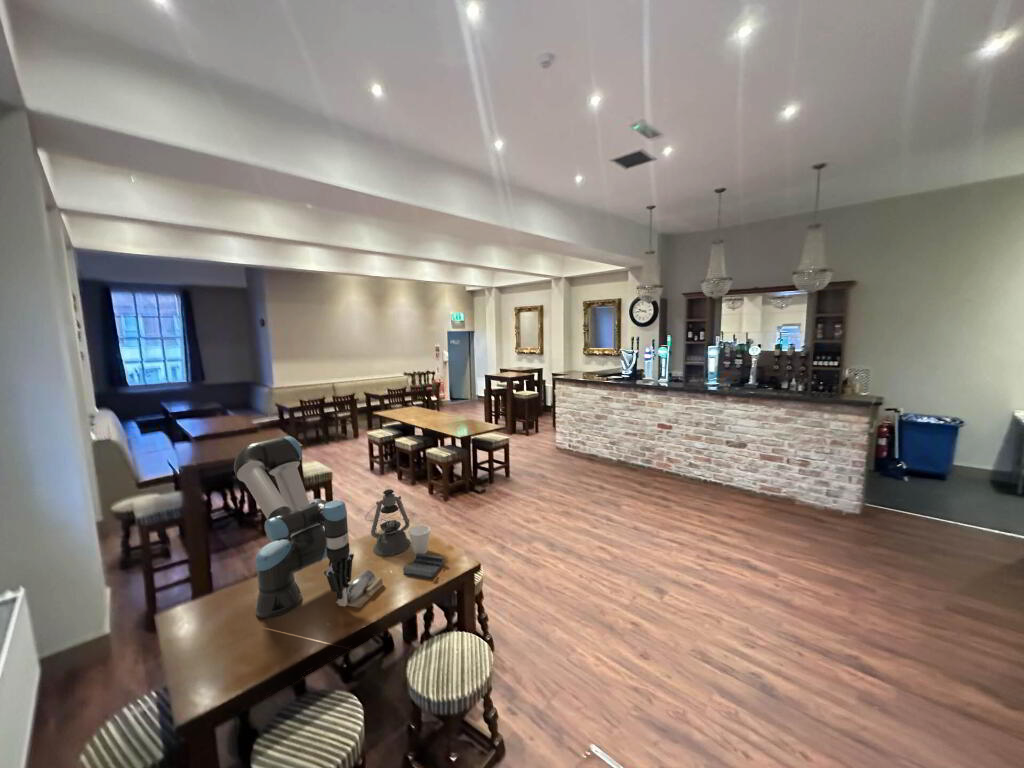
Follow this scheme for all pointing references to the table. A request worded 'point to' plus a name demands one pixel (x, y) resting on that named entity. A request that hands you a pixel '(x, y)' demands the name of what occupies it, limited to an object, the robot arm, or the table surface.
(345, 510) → the robot arm
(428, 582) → the table surface
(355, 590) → the grey metal cylinder
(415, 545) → the cup
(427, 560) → the v block
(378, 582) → the bracket
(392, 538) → the lantern
